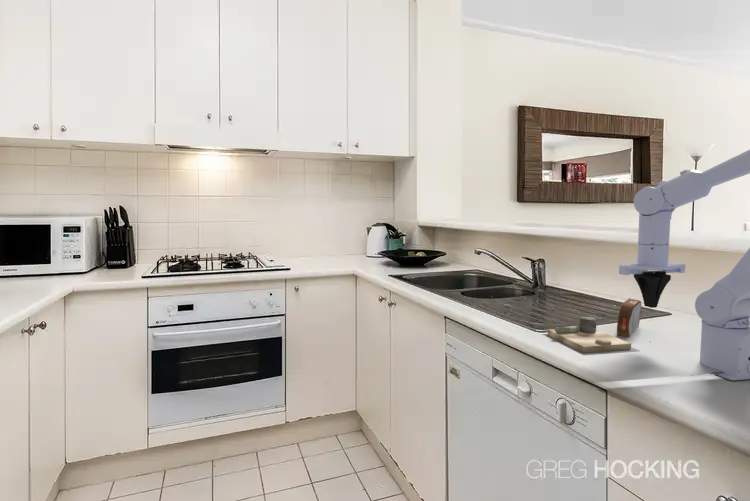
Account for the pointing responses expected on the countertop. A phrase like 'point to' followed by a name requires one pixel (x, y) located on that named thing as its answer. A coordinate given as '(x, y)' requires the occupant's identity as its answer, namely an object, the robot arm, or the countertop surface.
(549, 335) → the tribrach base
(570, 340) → the plate
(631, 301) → the brown and grey slab
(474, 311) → the countertop surface
